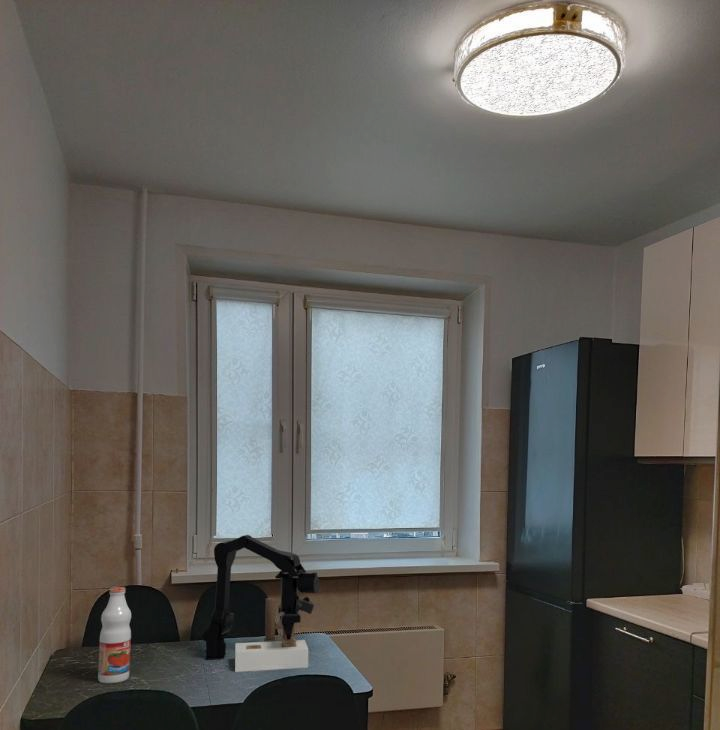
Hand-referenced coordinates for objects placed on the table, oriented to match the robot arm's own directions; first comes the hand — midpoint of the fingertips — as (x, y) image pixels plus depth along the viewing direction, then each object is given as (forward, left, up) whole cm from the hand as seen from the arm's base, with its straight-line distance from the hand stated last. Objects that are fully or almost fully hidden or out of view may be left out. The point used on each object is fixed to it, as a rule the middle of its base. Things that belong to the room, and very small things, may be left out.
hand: (288, 639), depth 232 cm
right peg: (0, 0, -5) cm, 5 cm away
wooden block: (-2, +20, -8) cm, 22 cm away
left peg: (-12, 0, -7) cm, 14 cm away
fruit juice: (-56, -6, -8) cm, 57 cm away
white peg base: (-6, 0, -8) cm, 10 cm away
